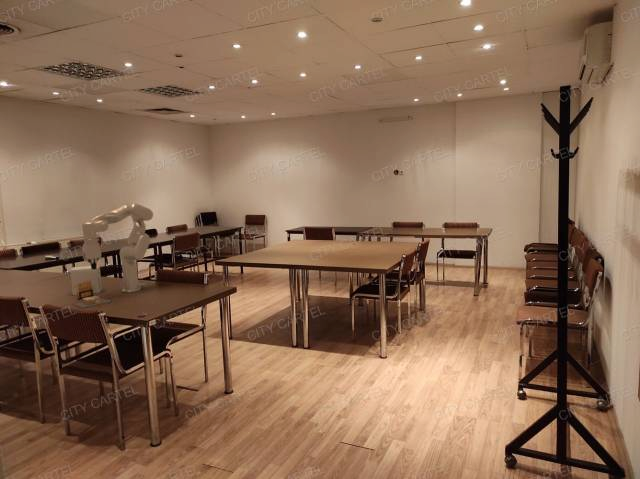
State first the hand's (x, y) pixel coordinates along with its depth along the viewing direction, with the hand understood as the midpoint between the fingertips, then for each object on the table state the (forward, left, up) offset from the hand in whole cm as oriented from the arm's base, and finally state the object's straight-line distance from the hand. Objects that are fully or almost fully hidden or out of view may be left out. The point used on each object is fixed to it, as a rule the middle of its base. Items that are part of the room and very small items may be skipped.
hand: (94, 269), depth 298 cm
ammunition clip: (+1, -14, -21) cm, 25 cm away
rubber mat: (+5, +6, -21) cm, 22 cm away
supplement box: (-7, -30, -21) cm, 37 cm away
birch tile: (+2, +6, -19) cm, 20 cm away
